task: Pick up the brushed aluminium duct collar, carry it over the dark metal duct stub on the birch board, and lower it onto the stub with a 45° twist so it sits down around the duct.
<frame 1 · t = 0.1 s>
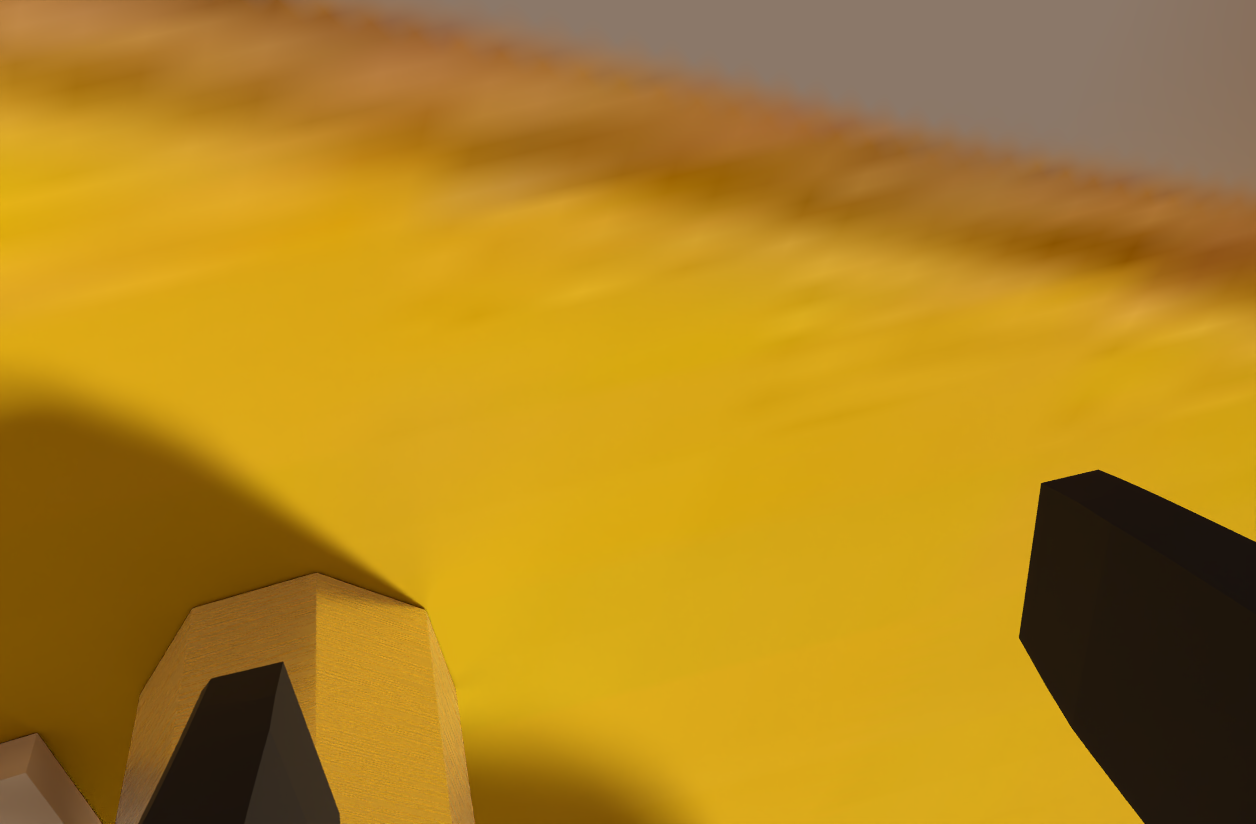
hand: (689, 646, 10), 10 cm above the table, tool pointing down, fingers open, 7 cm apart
duct collar: (304, 691, 22), on the table
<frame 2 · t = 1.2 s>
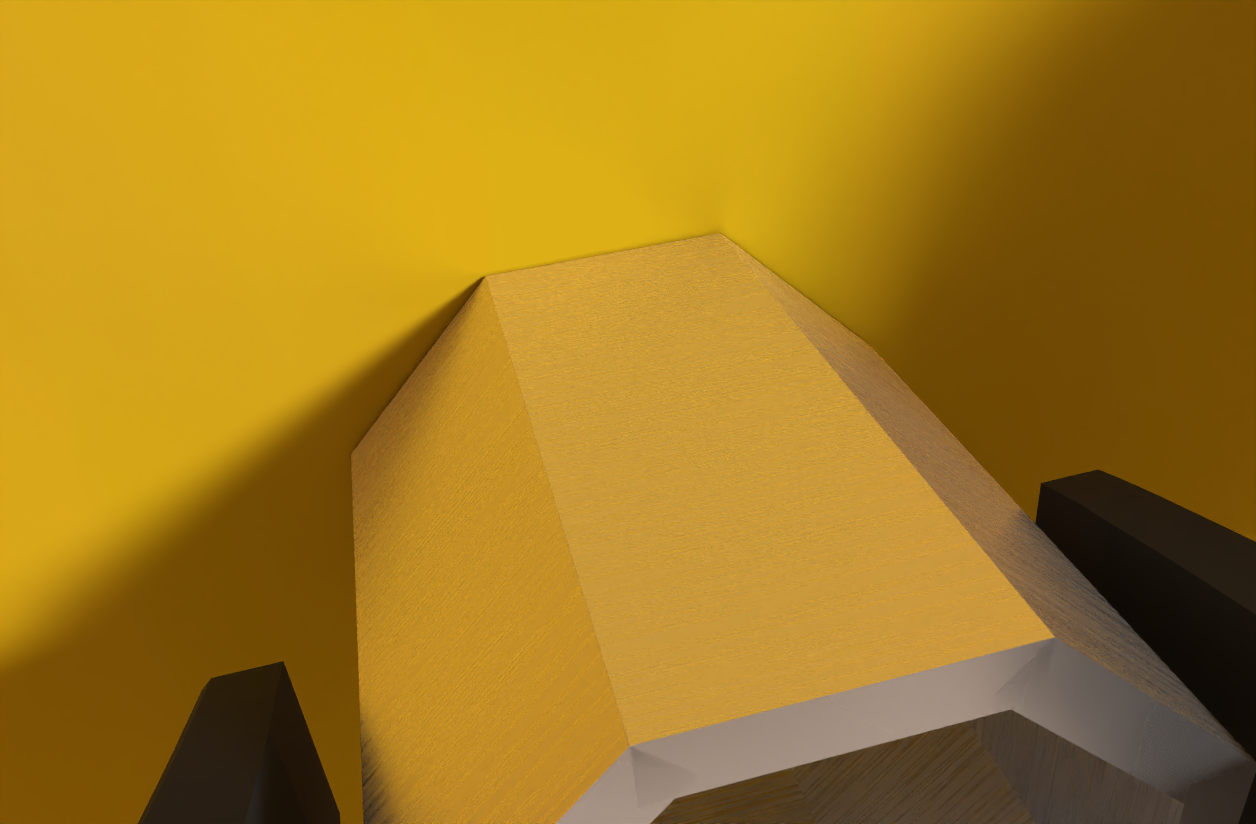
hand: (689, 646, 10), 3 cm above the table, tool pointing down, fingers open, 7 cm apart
duct collar: (631, 487, 12), on the table
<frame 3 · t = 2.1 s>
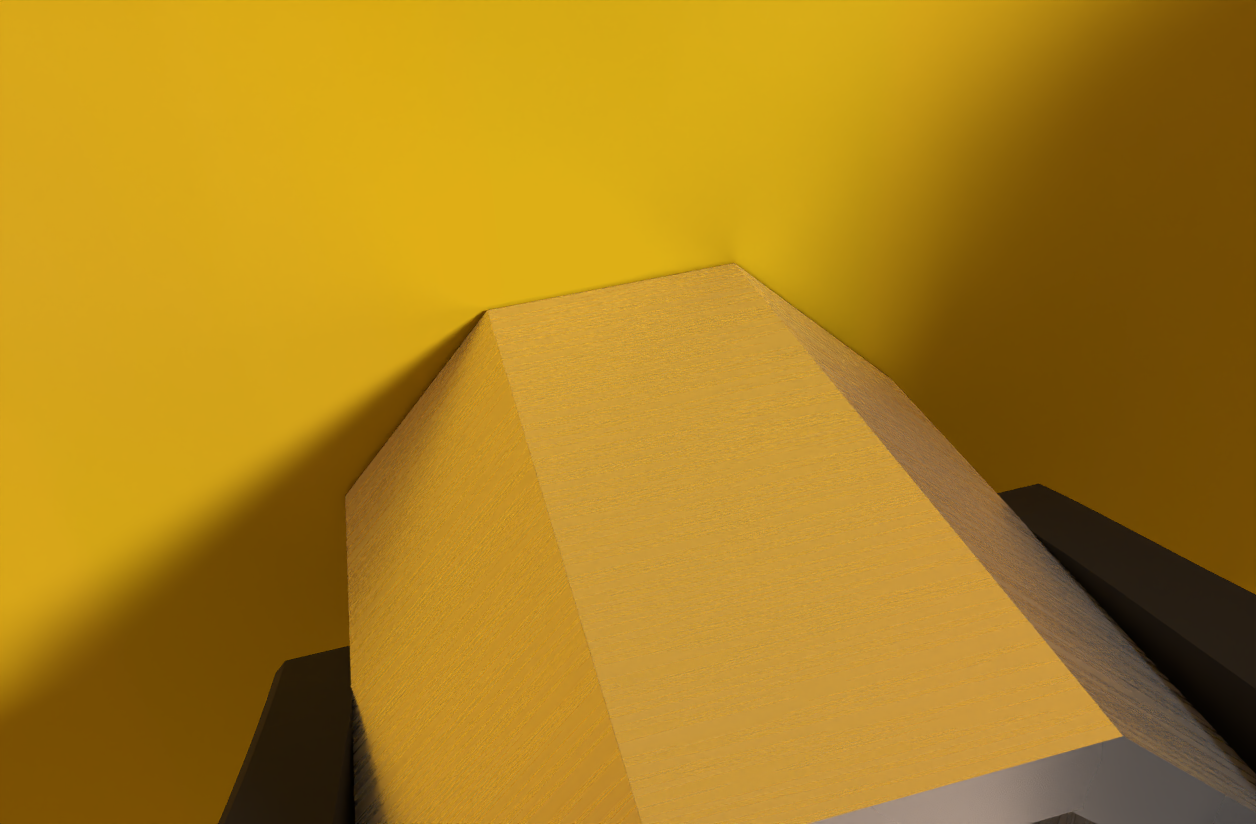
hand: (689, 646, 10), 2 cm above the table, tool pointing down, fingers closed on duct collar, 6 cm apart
duct collar: (639, 526, 12), on the table, touching gripper
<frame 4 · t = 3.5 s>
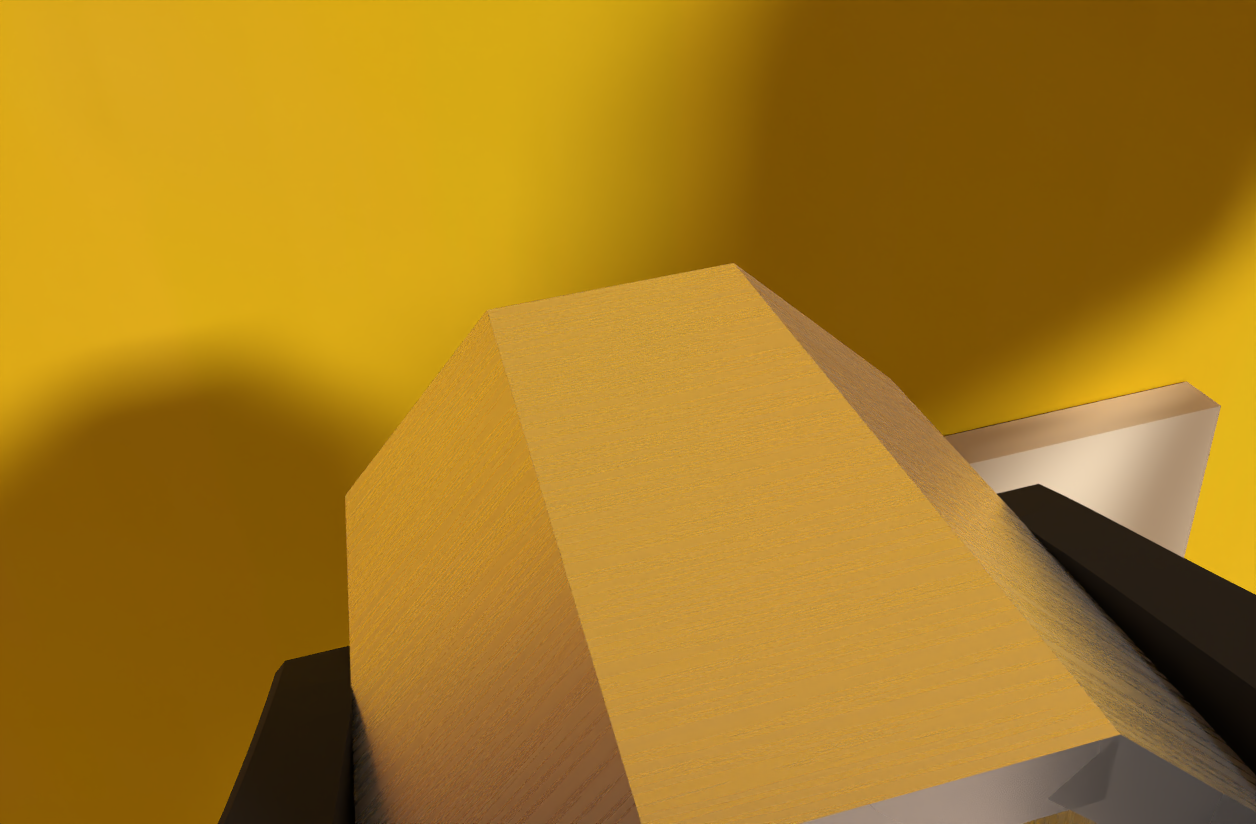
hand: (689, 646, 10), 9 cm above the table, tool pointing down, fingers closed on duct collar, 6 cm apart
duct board: (862, 639, 24), on the table
duct collar: (639, 526, 12), point 7 cm above the table, touching gripper
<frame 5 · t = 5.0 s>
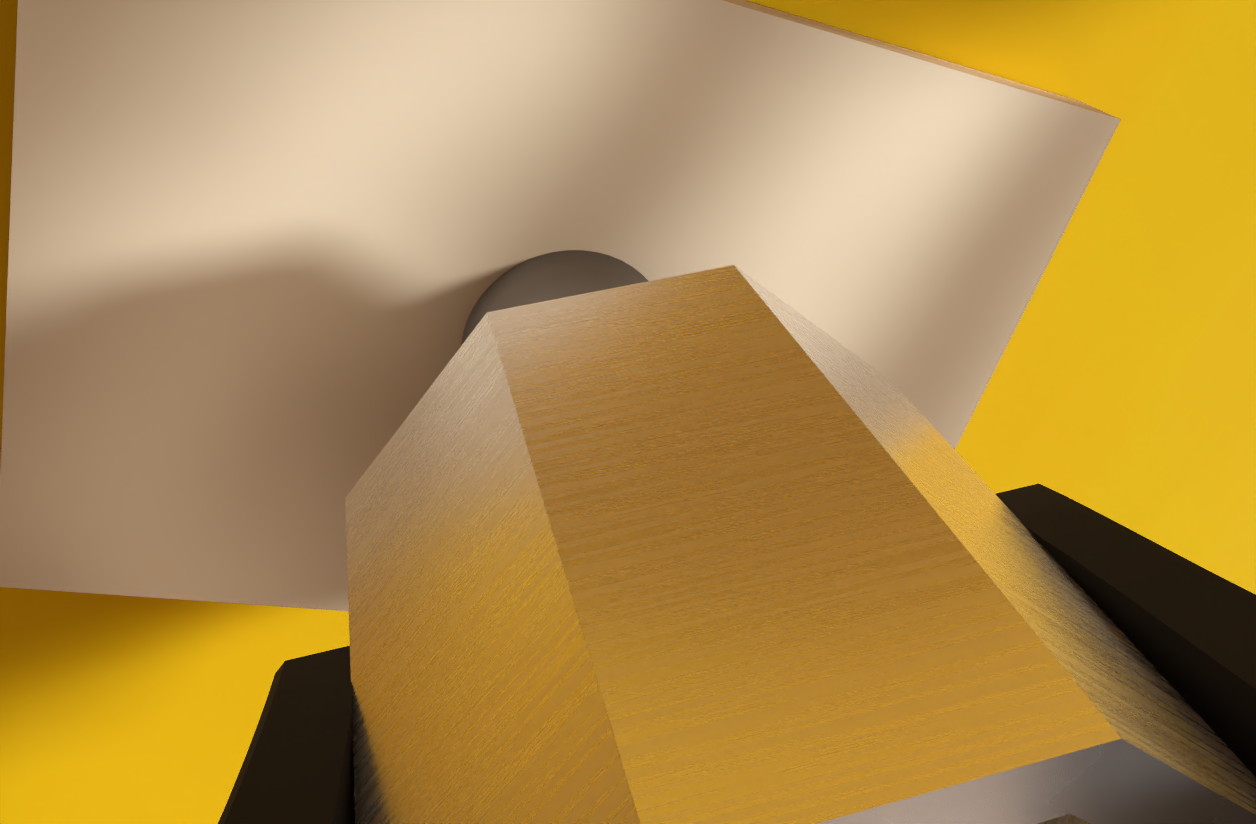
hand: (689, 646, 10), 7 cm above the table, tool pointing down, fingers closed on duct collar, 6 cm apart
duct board: (554, 318, 16), on the table
duct collar: (639, 528, 12), point 5 cm above the table, touching gripper
when the fingers open (4 cm above the table, at t = 6.1 s): duct collar drops 1 cm, resting on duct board.
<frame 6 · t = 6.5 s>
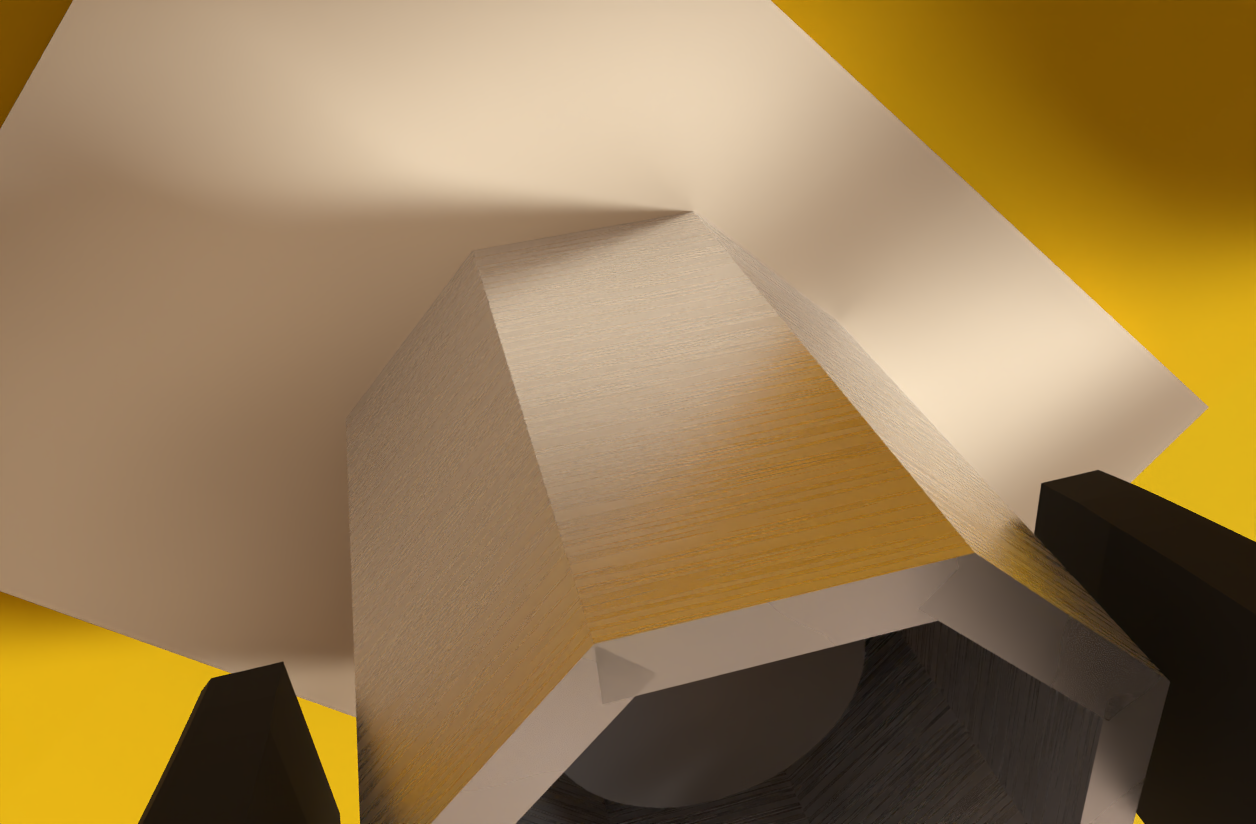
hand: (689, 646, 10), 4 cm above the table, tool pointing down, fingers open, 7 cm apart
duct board: (591, 410, 14), on the table
duct collar: (610, 454, 13), point 1 cm above the table, touching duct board
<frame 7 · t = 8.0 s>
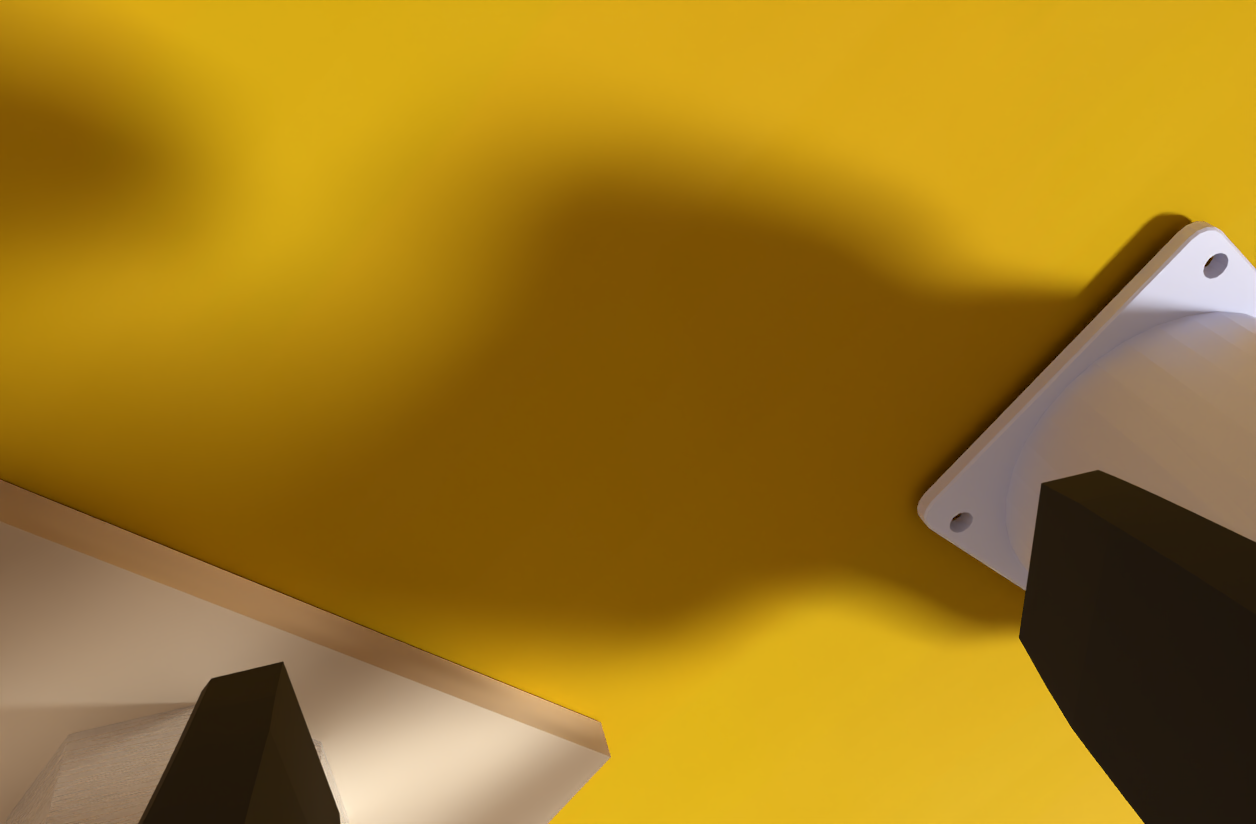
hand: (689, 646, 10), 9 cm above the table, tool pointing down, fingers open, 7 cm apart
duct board: (190, 778, 22), on the table
duct collar: (186, 819, 21), point 1 cm above the table, touching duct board
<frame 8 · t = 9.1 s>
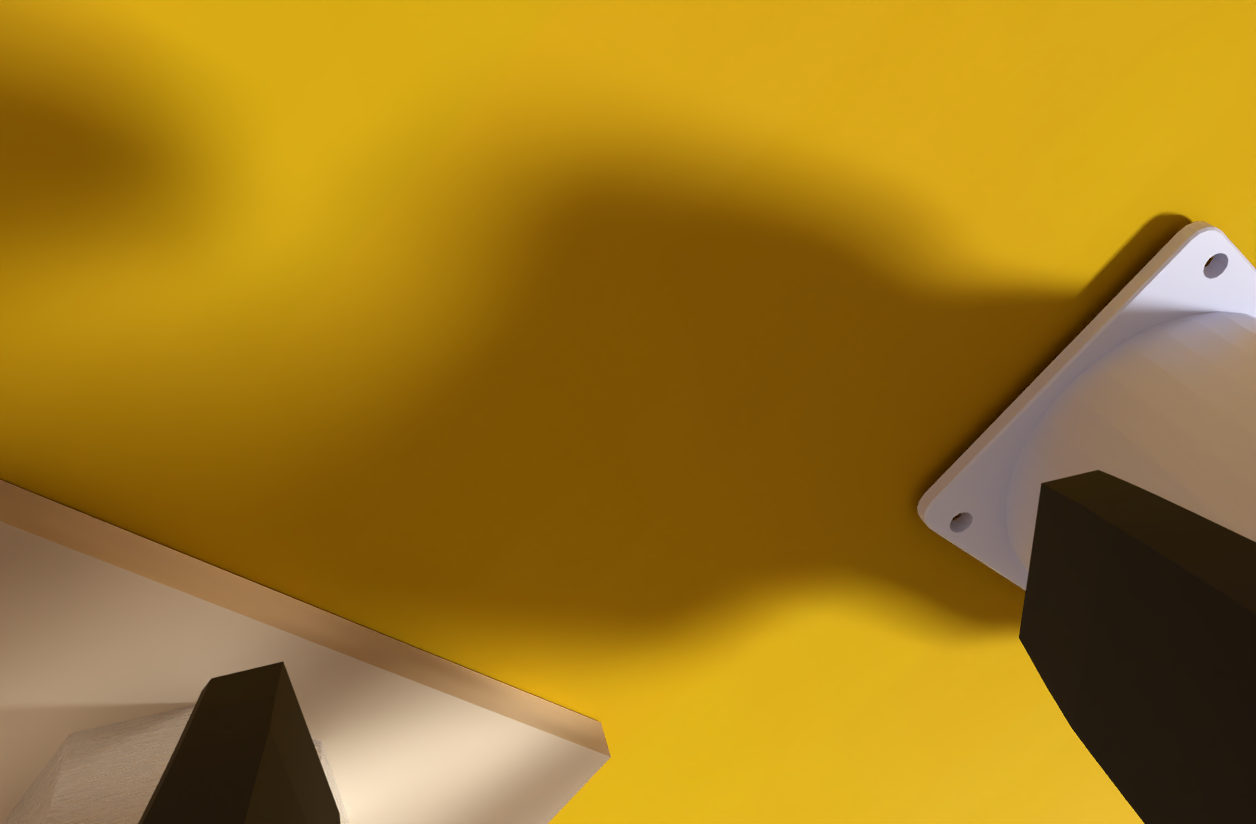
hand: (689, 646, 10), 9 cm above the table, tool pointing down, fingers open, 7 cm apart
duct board: (190, 778, 22), on the table
duct collar: (186, 819, 21), point 1 cm above the table, touching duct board
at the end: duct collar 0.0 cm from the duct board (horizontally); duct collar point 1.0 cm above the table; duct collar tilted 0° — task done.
